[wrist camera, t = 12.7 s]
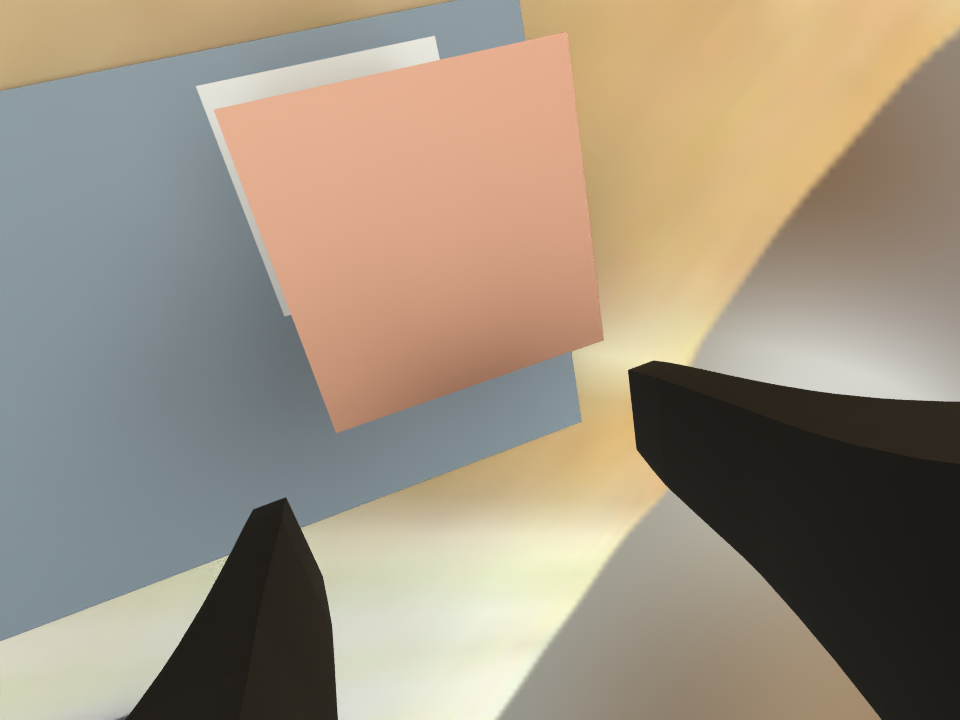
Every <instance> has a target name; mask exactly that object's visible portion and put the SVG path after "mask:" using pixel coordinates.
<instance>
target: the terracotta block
mask: <svg viewBox="0 0 960 720" xmlns="http://www.w3.org/2000/svg"><path fill="white" fill-rule="evenodd" d="M214 112H215V115H216V118H217V120H218V123H219V126H220V128H221V131H222V134H223V136H224V139H225V141H226V144H227V147H228V149H229V152H230V155H231V157H232V160H233V163H234V165H235V168H236V170H237V173H238V176H239V178H240V181H241V184H242V186H243V189H244V192H245V194H246V197H247V199H248V202H249V205H250V207H251V210H252V213H253V215H254V218H255V221H256V223H257V226H258V228H259V231H260V234H261V236H262V239H263V242H264V244H265V247H266V250H267V252H268V255H269V257H270V260H271V263H272V265H273V268H274V271H275V273H276V276H277V279H278V281H279V284H280V286H281V289H282V292H283V294H284V297H285V300H286V302H287V305H288V308H289V310H290V313H291V316H292V318H293V321H294V323H295V326H296V329H297V331H298V334H299V337H300V339H301V342H302V345H303V347H304V350H305V352H306V355H307V358H308V360H309V363H310V366H311V368H312V371H313V374H314V376H315V379H316V381H317V384H318V387H319V389H320V392H321V395H322V397H323V400H324V403H325V405H326V408H327V410H328V413H329V416H330V418H331V421H332V424H333V426H334V429H335V432H336V433H338V432H341V431H344V430H347V429H350V428H353V427H355V426H358V425H361V424H364V423H367V422H370V421H373V420H376V419H378V418H381V417H384V416H387V415H390V414H393V413H396V412H399V411H401V410H404V409H407V408H410V407H413V406H416V405H419V404H422V403H424V402H427V401H430V400H433V399H436V398H439V397H442V396H445V395H447V394H450V393H453V392H456V391H459V390H462V389H465V388H468V387H470V386H473V385H476V384H479V383H482V382H485V381H488V380H491V379H493V378H496V377H499V376H502V375H505V374H508V373H511V372H514V371H516V370H519V369H522V368H525V367H528V366H531V365H534V364H537V363H539V362H542V361H545V360H548V359H551V358H554V357H557V356H560V355H562V354H565V353H568V352H571V351H574V350H577V349H580V348H583V347H585V346H588V345H591V344H594V343H597V342H600V341H603V340H604V338H603V330H602V321H601V313H600V304H599V296H598V287H597V279H596V271H595V262H594V254H593V245H592V237H591V228H590V220H589V211H588V203H587V195H586V186H585V178H584V169H583V161H582V152H581V144H580V135H579V127H578V119H577V110H576V102H575V93H574V85H573V76H572V68H571V59H570V51H569V42H568V34H567V32H564V33H559V34H555V35H550V36H546V37H541V38H537V39H532V40H527V41H523V42H518V43H514V44H509V45H505V46H500V47H496V48H491V49H487V50H482V51H478V52H473V53H468V54H464V55H459V56H455V57H450V58H446V59H441V60H437V61H432V62H428V63H423V64H419V65H414V66H409V67H405V68H400V69H396V70H391V71H387V72H382V73H378V74H373V75H369V76H364V77H360V78H355V79H350V80H346V81H341V82H337V83H332V84H328V85H323V86H319V87H314V88H310V89H305V90H301V91H296V92H291V93H287V94H282V95H278V96H273V97H269V98H264V99H260V100H255V101H251V102H246V103H242V104H237V105H232V106H228V107H223V108H219V109H214Z"/></svg>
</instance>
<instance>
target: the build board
mask: <svg viewBox="0 0 960 720" xmlns="http://www.w3.org/2000/svg"><path fill="white" fill-rule="evenodd" d="M523 41H525V36H524V29H523V22H522V15H521V9H520V2H519V0H455V1H450V2H445V3H440V4H435V5H430V6H425V7H420V8H414V9H409V10H404V11H399V12H394V13H389V14H384V15H379V16H374V17H369V18H364V19H359V20H354V21H349V22H344V23H339V24H334V25H329V26H324V27H319V28H314V29H309V30H304V31H299V32H294V33H289V34H284V35H279V36H274V37H269V38H264V39H259V40H254V41H249V42H244V43H239V44H234V45H229V46H224V47H219V48H214V49H209V50H204V51H199V52H194V53H189V54H184V55H179V56H174V57H169V58H164V59H159V60H154V61H149V62H144V63H139V64H134V65H129V66H124V67H119V68H114V69H109V70H104V71H99V72H94V73H89V74H84V75H79V76H74V77H69V78H63V79H58V80H53V81H48V82H43V83H38V84H33V85H28V86H23V87H18V88H13V89H8V90H3V91H0V641H2V640H5V639H7V638H10V637H13V636H15V635H18V634H21V633H23V632H26V631H29V630H31V629H34V628H36V627H39V626H42V625H44V624H47V623H50V622H52V621H55V620H58V619H60V618H63V617H66V616H68V615H71V614H74V613H76V612H79V611H81V610H84V609H87V608H89V607H92V606H95V605H97V604H100V603H103V602H105V601H108V600H111V599H113V598H116V597H119V596H121V595H124V594H127V593H129V592H132V591H134V590H137V589H140V588H142V587H145V586H148V585H150V584H153V583H156V582H158V581H161V580H164V579H166V578H169V577H172V576H174V575H177V574H179V573H182V572H185V571H187V570H190V569H193V568H195V567H198V566H201V565H203V564H206V563H209V562H211V561H214V560H217V559H219V558H222V557H224V556H227V555H230V553H231V551H232V549H233V547H234V545H235V543H236V541H237V539H238V537H239V535H240V533H241V531H242V529H243V527H244V525H245V523H246V521H247V520H248V518H249V516H250V514H251V512H252V510H253V509H255V508H258V507H261V506H263V505H266V504H269V503H271V502H274V501H277V500H280V499H282V498H285V497H286V498H287V500H288V502H289V504H290V506H291V509H292V511H293V513H294V515H295V517H296V520H297V522H298V524H299V526H300V528H301V527H304V526H307V525H309V524H312V523H315V522H317V521H320V520H322V519H325V518H328V517H330V516H333V515H336V514H338V513H341V512H344V511H346V510H349V509H352V508H354V507H357V506H360V505H362V504H365V503H368V502H370V501H373V500H375V499H378V498H381V497H383V496H386V495H389V494H391V493H394V492H397V491H399V490H402V489H405V488H407V487H410V486H413V485H415V484H418V483H420V482H423V481H426V480H428V479H431V478H434V477H436V476H439V475H442V474H444V473H447V472H450V471H452V470H455V469H458V468H460V467H463V466H465V465H468V464H471V463H473V462H476V461H479V460H481V459H484V458H487V457H489V456H492V455H495V454H497V453H500V452H503V451H505V450H508V449H511V448H513V447H516V446H518V445H521V444H524V443H526V442H529V441H532V440H534V439H537V438H540V437H542V436H545V435H548V434H550V433H553V432H556V431H558V430H561V429H563V428H566V427H569V426H571V425H574V424H577V423H579V422H582V421H581V414H580V407H579V400H578V393H577V387H576V380H575V373H574V366H573V360H572V353H571V352H568V353H565V354H562V355H560V356H557V357H554V358H551V359H548V360H545V361H542V362H539V363H537V364H534V365H531V366H528V367H525V368H522V369H519V370H516V371H514V372H511V373H508V374H505V375H502V376H499V377H496V378H493V379H491V380H488V381H485V382H482V383H479V384H476V385H473V386H470V387H468V388H465V389H462V390H459V391H456V392H453V393H450V394H447V395H445V396H442V397H439V398H436V399H433V400H430V401H427V402H424V403H422V404H419V405H416V406H413V407H410V408H407V409H404V410H401V411H399V412H396V413H393V414H390V415H387V416H384V417H381V418H378V419H376V420H373V421H370V422H367V423H364V424H361V425H358V426H355V427H353V428H350V429H347V430H344V431H341V432H338V433H336V432H335V429H334V426H333V424H332V421H331V418H330V416H329V413H328V410H327V408H326V405H325V403H324V400H323V397H322V395H321V392H320V389H319V387H318V384H317V381H316V379H315V376H314V374H313V371H312V368H311V366H310V363H309V360H308V358H307V355H306V352H305V350H304V347H303V345H302V342H301V339H300V337H299V334H298V331H297V329H296V326H295V323H294V321H293V318H292V316H291V313H290V310H289V308H288V305H287V302H286V300H285V297H284V294H283V292H282V289H281V286H280V284H279V281H278V279H277V276H276V273H275V271H274V268H273V265H272V263H271V260H270V257H269V255H268V252H267V250H266V247H265V244H264V242H263V239H262V236H261V234H260V231H259V228H258V226H257V223H256V221H255V218H254V215H253V213H252V210H251V207H250V205H249V202H248V199H247V197H246V194H245V192H244V189H243V186H242V184H241V181H240V178H239V176H238V173H237V170H236V168H235V165H234V163H233V160H232V157H231V155H230V152H229V149H228V147H227V144H226V141H225V139H224V136H223V134H222V131H221V128H220V126H219V123H218V120H217V118H216V115H215V112H214V109H219V108H223V107H228V106H232V105H237V104H242V103H246V102H251V101H255V100H260V99H264V98H269V97H273V96H278V95H282V94H287V93H291V92H296V91H301V90H305V89H310V88H314V87H319V86H323V85H328V84H332V83H337V82H341V81H346V80H350V79H355V78H360V77H364V76H369V75H373V74H378V73H382V72H387V71H391V70H396V69H400V68H405V67H409V66H414V65H419V64H423V63H428V62H432V61H437V60H441V59H446V58H450V57H455V56H459V55H464V54H468V53H473V52H478V51H482V50H487V49H491V48H496V47H500V46H505V45H509V44H514V43H518V42H523Z"/></svg>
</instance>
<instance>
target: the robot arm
mask: <svg viewBox="0 0 960 720" xmlns="http://www.w3.org/2000/svg"><path fill="white" fill-rule="evenodd" d="M628 374H629V383H630V393H631V402H632V411H633V420H634V430H635V439H636V448H637V450H638V452H639V453H640V454H641V456H642V457H643V458H644V459H645V461H646V462H647V463H648V465H649V466H650V467H651V468H652V470H653V471H654V472H655V473H656V474H657V475H658V477H659V478H660V479H661V480H662V481H663V483H664V484H665V485H666V486H667V487H668V488H669V489H670V490H671V491H672V492H673V493H675V494H676V495H677V496H678V497H679V498H680V499H681V500H682V501H683V502H684V503H685V504H686V505H687V506H688V507H689V508H690V509H692V510H693V511H694V512H695V513H696V514H697V515H698V516H699V517H700V518H701V519H702V520H704V521H705V522H706V523H707V524H708V525H709V526H710V527H711V528H712V529H713V530H714V531H715V532H717V533H718V534H719V535H720V536H721V537H722V538H723V539H724V540H725V541H726V542H727V543H729V544H730V545H731V546H732V547H733V548H734V549H735V550H736V551H737V552H738V553H740V555H742V556H743V557H744V558H745V559H746V560H747V561H748V562H749V563H750V564H751V565H752V566H753V567H754V568H755V569H756V570H757V571H758V572H759V573H760V574H761V575H762V576H763V577H764V578H765V580H766V581H767V582H768V583H769V584H770V585H771V586H772V588H773V589H774V590H775V591H776V592H777V593H778V594H779V595H780V596H781V598H782V599H783V600H784V601H785V602H786V603H787V604H788V606H789V607H790V608H791V609H792V610H793V611H794V612H795V613H796V614H797V616H798V617H799V618H800V619H801V620H802V622H803V623H804V624H805V625H806V626H807V628H808V629H809V630H810V631H811V632H812V634H813V635H814V636H815V637H816V638H817V639H818V641H819V642H820V643H821V644H822V645H823V647H824V648H825V649H826V650H827V651H828V653H829V654H830V655H831V656H832V657H833V659H834V660H835V661H836V662H837V663H838V665H839V666H840V667H841V669H842V670H843V671H844V672H845V674H846V675H847V676H848V677H849V679H850V680H851V681H852V683H853V684H854V685H855V686H856V687H857V689H858V690H859V691H860V693H861V694H862V695H863V696H864V697H865V699H866V700H867V701H868V703H869V704H870V705H871V706H872V708H873V709H874V710H875V712H876V713H877V714H878V715H879V717H880V718H881V719H882V720H960V402H943V401H916V400H895V399H880V398H870V397H860V396H851V395H840V394H832V393H824V392H817V391H810V390H804V389H798V388H792V387H786V386H780V385H775V384H770V383H764V382H759V381H754V380H749V379H744V378H740V377H734V376H730V375H725V374H721V373H716V372H711V371H707V370H703V369H698V368H693V367H689V366H684V365H679V364H673V363H667V362H660V361H651V362H648V363H646V364H643V365H640V366H638V367H635V368H632V369H630V370H628ZM126 720H338V717H337V699H336V682H335V664H334V648H333V633H332V623H331V617H330V612H329V606H328V601H327V596H326V591H325V585H324V580H323V576H322V574H321V572H320V570H319V567H318V565H317V563H316V561H315V559H314V556H313V554H312V552H311V550H310V548H309V546H308V543H307V541H306V539H305V537H304V535H303V533H302V530H301V528H300V526H299V524H298V522H297V520H296V517H295V515H294V513H293V511H292V509H291V506H290V504H289V502H288V500H287V498H286V497H285V498H282V499H280V500H277V501H274V502H271V503H269V504H266V505H263V506H261V507H258V508H255V509H253V510H252V512H251V514H250V516H249V518H248V520H247V521H246V523H245V525H244V527H243V529H242V531H241V533H240V535H239V537H238V539H237V541H236V543H235V545H234V547H233V549H232V551H231V553H230V555H229V557H228V559H227V561H226V563H225V565H224V566H223V568H222V570H221V572H220V574H219V576H218V578H217V579H216V581H215V583H214V585H213V587H212V589H211V591H210V592H209V594H208V596H207V598H206V600H205V602H204V603H203V605H202V607H201V608H200V610H199V612H198V613H197V615H196V617H195V618H194V620H193V622H192V623H191V625H190V627H189V628H188V630H187V632H186V633H185V635H184V637H183V638H182V640H181V642H180V643H179V645H178V646H177V648H176V649H175V651H174V652H173V654H172V656H171V657H170V659H169V660H168V662H167V663H166V664H165V666H164V667H163V669H162V670H161V672H160V673H159V675H158V676H157V678H156V679H155V680H154V682H153V683H152V684H151V686H150V687H149V689H148V690H147V691H146V693H145V694H144V695H143V697H142V698H141V700H140V701H139V702H138V704H137V705H136V706H135V708H134V709H133V710H132V712H131V713H130V714H129V716H128V717H127V718H126Z"/></svg>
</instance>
